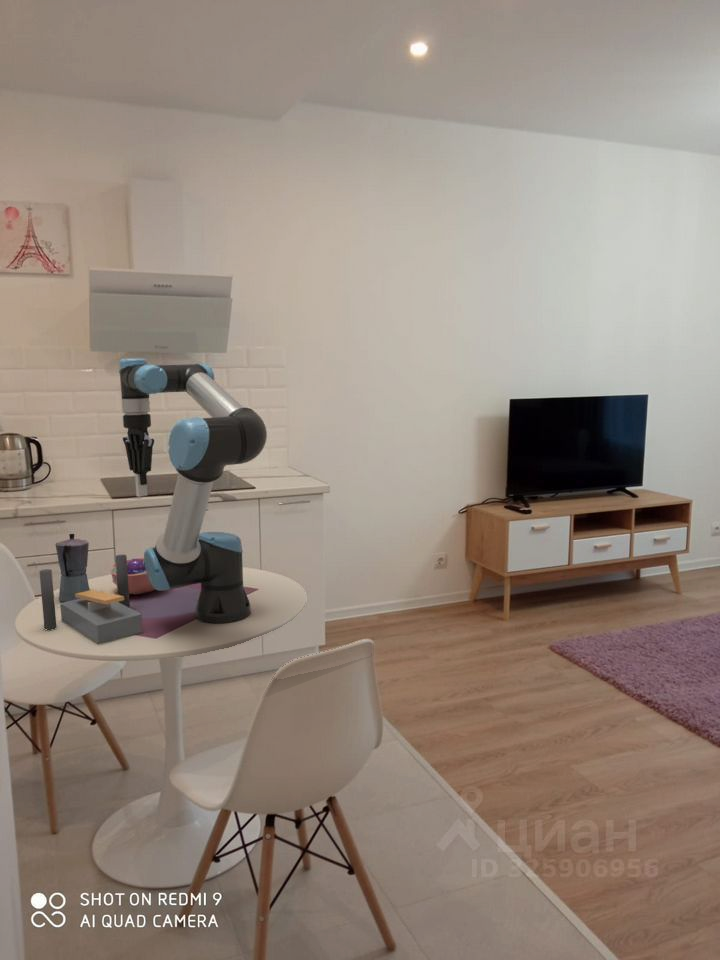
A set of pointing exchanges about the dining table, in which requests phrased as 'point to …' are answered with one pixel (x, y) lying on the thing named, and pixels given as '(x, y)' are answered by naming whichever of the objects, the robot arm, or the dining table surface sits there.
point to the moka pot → (72, 567)
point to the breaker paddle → (99, 597)
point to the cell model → (135, 577)
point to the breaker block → (101, 619)
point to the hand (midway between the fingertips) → (142, 495)
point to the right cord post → (122, 579)
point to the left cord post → (48, 599)
